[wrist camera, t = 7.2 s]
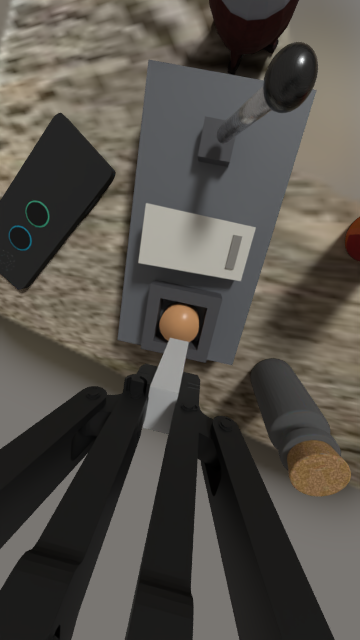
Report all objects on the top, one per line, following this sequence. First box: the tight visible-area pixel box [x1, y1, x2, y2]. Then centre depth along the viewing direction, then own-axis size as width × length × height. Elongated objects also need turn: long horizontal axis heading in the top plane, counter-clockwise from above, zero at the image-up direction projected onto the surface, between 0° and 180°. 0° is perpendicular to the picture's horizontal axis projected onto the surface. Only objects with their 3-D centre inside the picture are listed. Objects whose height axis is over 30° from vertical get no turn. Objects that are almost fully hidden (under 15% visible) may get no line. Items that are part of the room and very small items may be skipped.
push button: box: [159, 302, 199, 342], centre depth 25 cm, size 4×4×2 cm
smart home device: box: [0, 113, 115, 290], centre depth 29 cm, size 8×2×20 cm
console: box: [118, 60, 316, 365], centre depth 25 cm, size 14×26×8 cm, turn 169°
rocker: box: [138, 203, 256, 281], centre depth 22 cm, size 10×5×1 cm, turn 79°
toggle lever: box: [216, 42, 318, 144], centre depth 15 cm, size 2×2×10 cm
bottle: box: [250, 358, 351, 496], centre depth 26 cm, size 6×6×15 cm
